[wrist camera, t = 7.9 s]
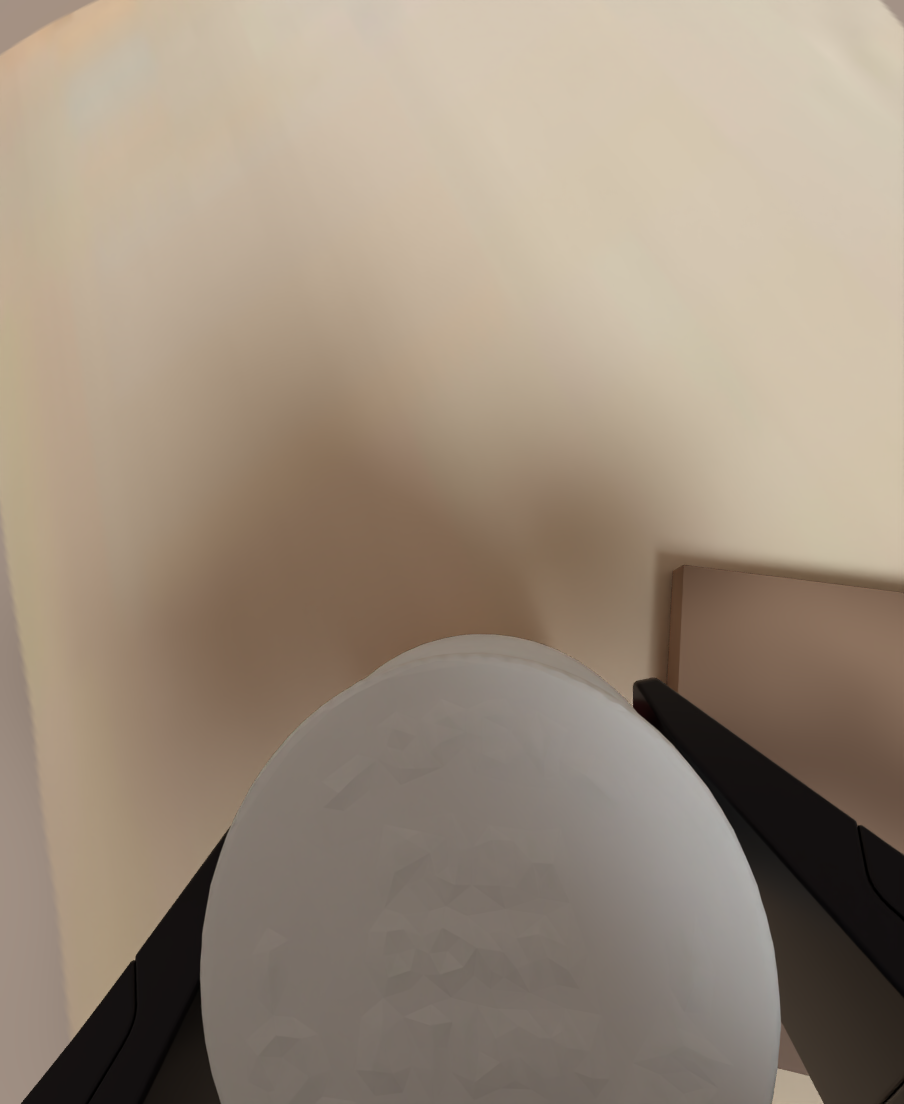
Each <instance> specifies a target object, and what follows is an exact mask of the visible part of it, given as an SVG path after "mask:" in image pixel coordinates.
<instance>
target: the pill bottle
mask: <svg viewBox="0 0 904 1104" xmlns="http://www.w3.org/2000/svg"><path fill="white" fill-rule="evenodd" d="M200 984H201V1006H202V1019H203V1027H204V1035H205V1043H206V1048H207V1053H208V1058H209V1063H210V1067H211V1072H212V1076H213V1079H214V1083H215V1086H216V1089H217V1092H218V1095H219V1099H220V1102H221V1104H772V1099H773V1093H774V1087H775V1080H776V1074H777V1067H778V1055H779V1043H780V1032H781V1015H780V998H779V986H778V975H777V967H776V959H775V951H774V946H773V941H772V937H771V933H770V929H769V925H768V920H767V916H766V913H765V910H764V907H763V904H762V901H761V897H760V893H759V889H758V886H757V883H756V881H755V878H754V876H753V873H752V871H751V868H750V866H749V864H748V861H747V859H746V856H745V854H744V852H743V850H742V848H741V845H740V843H739V841H738V839H737V837H736V834H735V832H734V830H733V828H732V826H731V825H730V823H729V821H728V819H727V818H726V816H725V814H724V812H723V811H722V809H721V807H720V806H719V804H718V803H717V801H716V799H715V798H714V796H713V795H712V793H711V791H710V790H709V788H708V787H707V786H706V784H705V783H704V782H703V781H702V779H701V778H700V777H699V776H698V774H697V773H696V772H695V771H694V769H693V768H692V767H691V766H690V764H689V763H688V762H687V761H686V760H685V758H684V757H683V756H682V755H681V754H680V753H679V751H678V750H677V749H676V748H675V747H674V746H673V744H672V743H670V742H669V741H668V740H667V739H666V738H665V737H664V736H663V735H662V734H661V733H660V732H659V731H658V730H657V729H656V728H655V727H654V726H652V725H651V724H650V723H649V722H648V721H646V720H645V719H644V718H643V717H642V716H640V715H639V714H638V713H637V712H636V710H635V709H634V708H633V707H632V706H631V705H630V704H629V702H628V701H627V700H626V699H625V698H624V697H623V696H622V695H621V694H620V693H619V692H618V691H617V690H616V689H614V688H613V687H612V686H611V685H610V684H608V683H607V682H606V681H605V680H604V679H602V678H601V677H600V676H599V675H597V674H596V673H595V672H593V671H592V670H591V669H589V668H588V667H586V666H585V665H583V664H582V663H581V662H579V661H578V660H576V659H574V658H572V657H570V656H568V655H566V654H564V653H562V652H560V651H559V650H556V649H554V648H551V647H548V646H546V645H544V644H540V643H537V642H535V641H530V640H526V639H522V638H518V637H512V636H504V635H494V634H470V635H459V636H453V637H448V638H443V639H439V640H436V641H432V642H429V643H425V644H422V645H420V646H418V647H415V648H413V649H411V650H408V651H406V652H404V653H402V654H400V655H398V656H397V657H395V658H393V659H391V660H390V661H388V662H386V663H385V664H383V665H382V666H381V667H379V668H378V669H376V670H375V671H374V672H373V673H371V674H370V675H369V676H367V677H366V678H365V679H363V680H361V681H359V682H357V683H355V684H354V685H352V686H351V687H349V688H348V689H346V690H345V691H343V692H341V693H340V694H338V695H336V696H335V697H334V698H332V699H331V700H329V701H328V702H326V703H325V704H324V705H322V706H321V707H320V708H318V709H317V710H316V711H315V712H314V713H313V714H311V715H310V716H309V717H308V718H307V719H305V720H304V721H303V722H302V723H301V724H300V725H299V726H298V727H297V728H296V729H295V730H294V731H293V732H292V733H291V734H290V735H289V736H288V737H287V739H286V740H285V741H284V742H283V744H282V745H281V746H280V747H279V748H278V750H277V751H276V752H275V753H274V754H273V756H272V757H271V758H270V760H269V761H268V762H267V764H266V765H265V766H264V768H263V769H262V770H261V772H260V773H259V775H258V777H257V778H256V780H255V781H254V783H253V784H252V786H251V787H250V789H249V791H248V793H247V795H246V797H245V799H244V801H243V803H242V804H241V806H240V808H239V810H238V812H237V814H236V816H235V818H234V820H233V822H232V825H231V827H230V829H229V831H228V834H227V836H226V839H225V842H224V845H223V848H222V850H221V853H220V856H219V860H218V863H217V866H216V869H215V872H214V876H213V879H212V882H211V885H210V891H209V897H208V902H207V908H206V914H205V920H204V926H203V932H202V949H201V961H200Z"/></svg>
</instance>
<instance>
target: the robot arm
mask: <svg viewBox="0 0 904 1104" xmlns="http://www.w3.org/2000/svg"><path fill="white" fill-rule="evenodd" d="M633 708H634V709H635V710H636V712H637V713H638V714H639V715H640V716H642V717H643V718H644V719H645V720H646V721H648V722H649V723H650V724H651V725H652V726H654V727H655V728H656V729H657V730H658V731H659V732H660V733H661V734H662V735H663V736H664V737H665V738H666V739H667V740H668V741H669V742H670V743H672V744H673V746H674V747H675V748H676V749H677V750H678V751H679V753H680V754H681V755H682V756H683V757H684V758H685V760H686V761H687V762H688V763H689V764H690V766H691V767H692V768H693V769H694V771H695V772H696V773H697V774H698V776H699V777H700V778H701V779H702V781H703V782H704V783H705V784H706V786H707V787H708V788H709V790H710V791H711V793H712V795H713V796H714V798H715V799H716V801H717V803H718V804H719V806H720V807H721V809H722V811H723V812H724V814H725V816H726V818H727V819H728V821H729V823H730V825H731V826H732V828H733V830H734V832H735V834H736V837H737V839H738V841H739V843H740V845H741V848H742V850H743V852H744V854H745V856H746V859H747V861H748V864H749V866H750V868H751V871H752V873H753V876H754V878H755V881H756V883H757V886H758V889H759V893H760V897H761V901H762V904H763V907H764V910H765V913H766V916H767V920H768V925H769V929H770V933H771V937H772V941H773V946H774V951H775V959H776V967H777V975H778V986H779V998H780V1015H781V1022H782V1024H783V1026H784V1028H785V1030H786V1032H787V1034H788V1036H789V1038H790V1039H791V1041H792V1043H793V1045H794V1047H795V1049H796V1051H797V1053H798V1055H799V1057H800V1059H801V1061H802V1062H803V1064H804V1066H805V1068H806V1070H807V1072H808V1074H809V1076H810V1078H811V1080H812V1082H813V1084H814V1086H815V1087H816V1089H817V1091H818V1093H819V1095H820V1097H821V1099H822V1101H823V1103H824V1104H904V854H903V853H901V852H900V851H898V850H897V849H895V848H894V847H892V846H891V845H890V844H888V843H887V842H885V841H884V840H883V839H881V838H880V837H878V836H877V835H876V834H874V833H873V832H871V831H870V830H869V829H867V828H866V827H864V826H863V825H857V822H856V820H854V819H853V818H852V817H850V816H849V815H847V814H846V813H845V812H843V811H842V810H840V809H839V808H838V807H836V806H835V805H833V804H832V803H831V802H829V801H828V800H826V799H825V798H824V797H822V796H821V795H819V794H818V793H817V792H815V791H814V790H813V789H811V788H810V787H808V786H807V785H806V784H804V783H803V782H801V781H800V780H799V779H797V778H796V777H794V776H793V775H792V774H790V773H789V772H787V771H786V770H785V769H783V768H782V767H780V766H779V765H778V764H776V763H775V762H773V761H772V760H771V759H769V758H768V757H766V756H765V755H764V754H762V753H761V752H760V751H758V750H757V749H755V748H754V747H753V746H751V745H750V744H748V743H747V742H746V741H744V740H743V739H741V738H740V737H739V736H737V735H736V734H734V733H733V732H732V731H730V730H729V729H727V728H726V727H725V726H723V725H722V724H720V723H719V722H718V721H716V720H715V719H713V718H712V717H711V716H709V715H708V714H707V713H705V712H704V711H702V710H701V709H700V708H698V707H697V706H695V705H694V704H693V703H691V702H690V701H688V700H687V699H686V698H684V697H683V696H681V695H680V694H679V693H677V692H676V691H674V690H673V689H672V688H670V687H669V686H667V685H666V684H665V683H663V682H662V681H660V680H659V679H657V678H649V679H644V680H639V681H636V682H635V683H634V685H633ZM230 827H231V826H230ZM229 829H230V828H229ZM229 829H228V830H227V832H226V833H225V834H224V836H223V837H222V838H221V840H220V841H219V843H218V844H217V845H216V847H215V848H214V849H213V851H212V852H211V854H210V855H209V856H208V858H207V859H206V860H205V862H204V863H203V864H202V866H201V867H200V869H199V870H198V871H197V873H196V874H195V875H194V877H193V878H192V879H191V881H190V882H189V884H188V885H187V886H186V888H185V889H184V890H183V892H182V893H181V894H180V896H179V897H178V899H177V900H176V901H175V903H174V904H173V905H172V907H171V908H170V909H169V911H168V912H167V914H166V915H165V916H164V918H163V919H162V920H161V922H160V923H159V924H158V926H157V927H156V929H155V930H154V931H153V933H152V934H151V935H150V937H149V938H148V939H147V941H146V942H145V944H144V945H143V946H142V948H141V949H140V950H139V952H138V953H137V955H136V959H135V960H133V961H131V962H130V964H129V965H128V966H127V968H126V969H125V971H124V972H123V973H122V975H121V976H120V977H119V979H118V980H117V981H116V983H115V984H114V986H113V987H112V988H111V990H110V991H109V992H108V994H107V995H106V996H105V998H104V999H103V1000H102V1002H101V1003H100V1004H99V1006H98V1007H97V1008H96V1009H95V1011H94V1012H93V1013H92V1015H91V1016H90V1017H89V1019H88V1020H87V1021H86V1023H85V1024H84V1025H83V1027H82V1028H81V1029H80V1031H79V1032H78V1033H77V1035H76V1036H75V1037H74V1038H73V1040H72V1041H71V1042H70V1043H69V1045H68V1046H67V1047H66V1048H65V1050H64V1051H63V1052H62V1053H61V1055H60V1056H59V1057H58V1058H57V1060H56V1061H55V1062H54V1063H53V1065H52V1066H51V1067H50V1068H49V1070H48V1071H47V1072H46V1073H45V1075H44V1076H43V1077H42V1078H41V1080H40V1081H39V1082H38V1084H37V1085H36V1086H35V1087H34V1088H33V1089H32V1091H31V1092H30V1093H29V1094H28V1096H27V1097H26V1098H25V1099H24V1100H23V1102H22V1103H21V1104H221V1102H220V1099H219V1095H218V1092H217V1089H216V1086H215V1083H214V1079H213V1076H212V1072H211V1067H210V1063H209V1058H208V1053H207V1048H206V1043H205V1035H204V1027H203V1019H202V1006H201V984H200V961H201V949H202V932H203V926H204V920H205V914H206V908H207V902H208V897H209V891H210V885H211V882H212V879H213V876H214V872H215V869H216V866H217V863H218V860H219V856H220V853H221V850H222V848H223V845H224V842H225V839H226V836H227V834H228V831H229Z"/></svg>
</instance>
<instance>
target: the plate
mask: <svg viewBox="0 0 904 1104" xmlns="http://www.w3.org/2000/svg"><path fill="white" fill-rule="evenodd" d="M667 686H669V687H670V688H672V689H673V690H674V691H676V692H677V693H679V694H680V695H681V696H683V697H684V698H686V699H687V700H688V701H690V702H691V703H693V704H694V705H695V706H697V707H698V708H700V709H701V710H702V711H704V712H705V713H707V714H708V715H709V716H711V717H712V718H713V719H715V720H716V721H718V722H719V723H720V724H722V725H723V726H725V727H726V728H727V729H729V730H730V731H732V732H733V733H734V734H736V735H737V736H739V737H740V738H741V739H743V740H744V741H746V742H747V743H748V744H750V745H751V746H753V747H754V748H755V749H757V750H758V751H760V752H761V753H762V754H764V755H765V756H766V757H768V758H769V759H771V760H772V761H773V762H775V763H776V764H778V765H779V766H780V767H782V768H783V769H785V770H786V771H787V772H789V773H790V774H792V775H793V776H794V777H796V778H797V779H799V780H800V781H801V782H803V783H804V784H806V785H807V786H808V787H810V788H811V789H813V790H814V791H815V792H817V793H818V794H819V795H821V796H822V797H824V798H825V799H826V800H828V801H829V802H831V803H832V804H833V805H835V806H836V807H838V808H839V809H840V810H842V811H843V812H845V813H846V814H847V815H849V816H850V817H852V818H853V819H854V820H856V822H857V825H863V826H864V827H866V828H867V829H869V830H870V831H871V832H873V833H874V834H876V835H877V836H878V837H880V838H881V839H883V840H884V841H885V842H887V843H888V844H890V845H891V846H892V847H894V848H895V849H897V850H898V851H900V852H901V853H903V854H904V593H902V592H895V591H887V590H879V589H871V588H863V587H855V586H847V585H839V584H831V583H823V582H815V581H807V580H799V579H792V578H784V577H776V576H768V575H760V574H752V573H744V572H736V571H728V570H720V569H712V568H704V567H697V566H689V565H683V566H681V567H679V568H677V569H675V570H674V571H673V576H672V595H671V615H670V634H669V654H668V673H667ZM777 1068H779V1069H783V1070H788V1071H792V1072H796V1073H800V1074H804V1075H808V1076H809V1074H808V1072H807V1070H806V1068H805V1066H804V1064H803V1062H802V1061H801V1059H800V1057H799V1055H798V1053H797V1051H796V1049H795V1047H794V1045H793V1043H792V1041H791V1039H790V1038H789V1036H788V1034H787V1032H786V1030H785V1028H784V1026H783V1024H782V1022H781V1032H780V1043H779V1055H778V1067H777Z"/></svg>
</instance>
